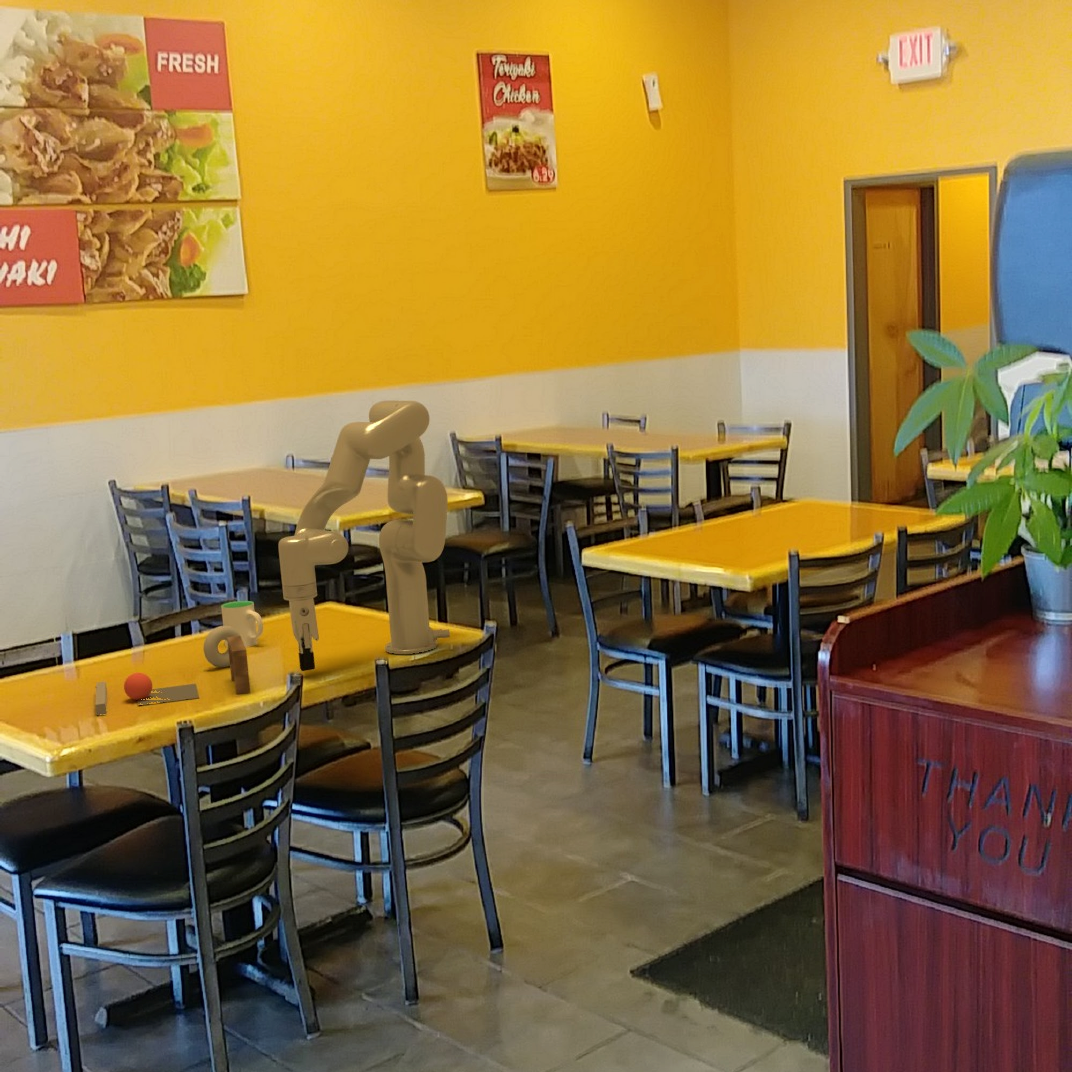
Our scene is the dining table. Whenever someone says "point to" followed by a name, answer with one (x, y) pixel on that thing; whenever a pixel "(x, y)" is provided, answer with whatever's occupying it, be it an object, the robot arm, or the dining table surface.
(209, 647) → the donut
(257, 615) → the mug
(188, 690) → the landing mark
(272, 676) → the dining table surface
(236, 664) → the bridge
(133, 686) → the ball
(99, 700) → the stopper wall
